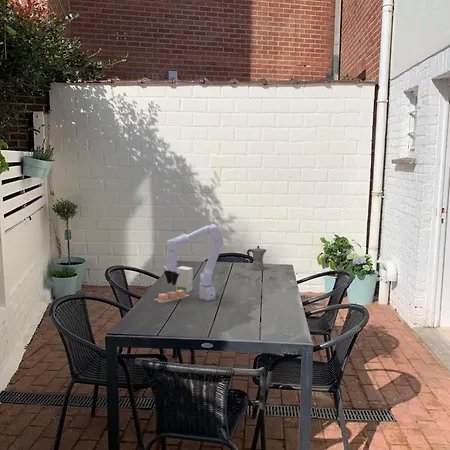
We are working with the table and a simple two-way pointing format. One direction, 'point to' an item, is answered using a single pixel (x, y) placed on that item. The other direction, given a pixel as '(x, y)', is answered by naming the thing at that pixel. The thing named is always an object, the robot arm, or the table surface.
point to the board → (171, 299)
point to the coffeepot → (257, 258)
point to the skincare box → (185, 279)
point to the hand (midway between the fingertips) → (171, 283)
